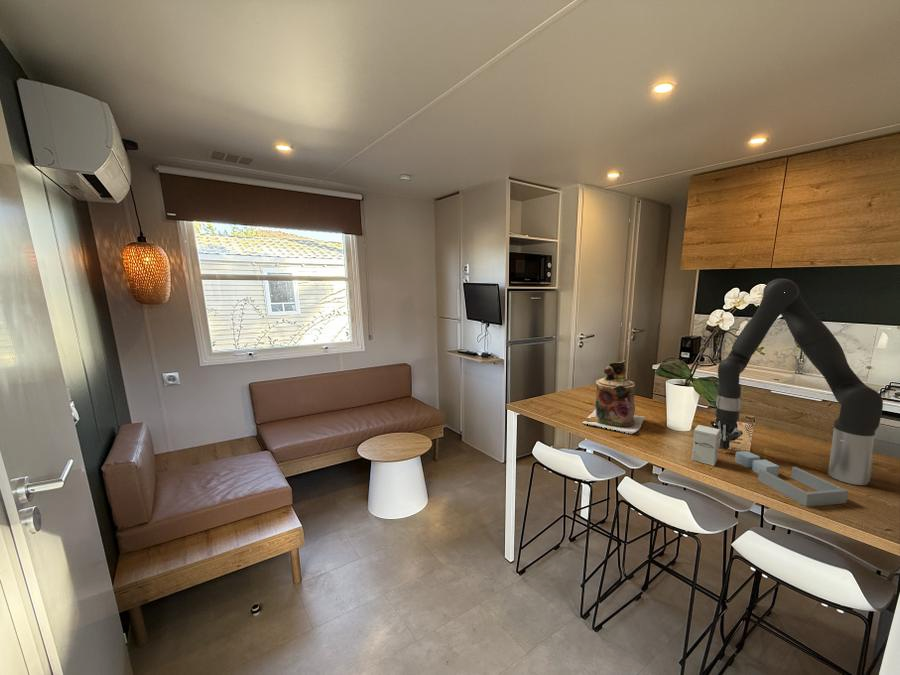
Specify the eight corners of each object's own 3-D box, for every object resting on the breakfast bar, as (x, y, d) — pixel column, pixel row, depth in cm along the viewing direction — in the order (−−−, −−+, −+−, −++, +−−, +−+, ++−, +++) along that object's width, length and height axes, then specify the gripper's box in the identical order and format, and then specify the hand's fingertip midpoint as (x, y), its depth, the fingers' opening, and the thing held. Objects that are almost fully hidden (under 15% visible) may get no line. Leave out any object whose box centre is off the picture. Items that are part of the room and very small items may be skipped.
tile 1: (746, 460, 138) (747, 450, 137) (759, 467, 133) (760, 456, 132) (734, 461, 137) (735, 451, 136) (747, 468, 132) (748, 457, 132)
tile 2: (764, 469, 131) (765, 459, 130) (778, 476, 126) (779, 466, 125) (752, 470, 130) (753, 460, 130) (765, 477, 125) (766, 467, 125)
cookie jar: (595, 411, 196) (597, 353, 192) (645, 420, 181) (649, 358, 177) (581, 425, 176) (583, 361, 172) (636, 436, 161) (640, 367, 157)
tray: (794, 477, 125) (795, 466, 124) (846, 503, 110) (848, 490, 109) (758, 480, 123) (759, 469, 123) (805, 506, 108) (807, 494, 108)
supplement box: (690, 460, 138) (693, 429, 137) (695, 454, 144) (697, 423, 142) (714, 466, 133) (717, 434, 132) (718, 460, 138) (720, 428, 137)
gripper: (752, 412, 136) (747, 455, 138) (722, 401, 149) (718, 441, 151) (734, 413, 135) (730, 456, 138) (705, 402, 148) (702, 442, 151)
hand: (724, 448), depth 144 cm, fingers closed
